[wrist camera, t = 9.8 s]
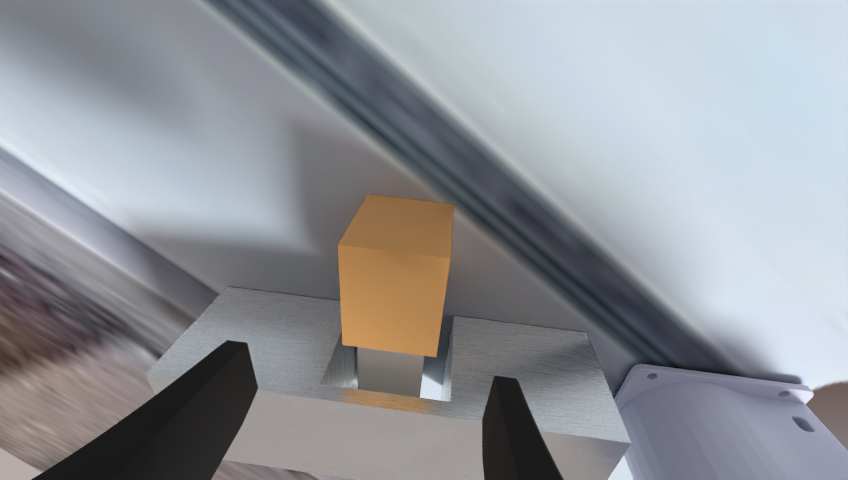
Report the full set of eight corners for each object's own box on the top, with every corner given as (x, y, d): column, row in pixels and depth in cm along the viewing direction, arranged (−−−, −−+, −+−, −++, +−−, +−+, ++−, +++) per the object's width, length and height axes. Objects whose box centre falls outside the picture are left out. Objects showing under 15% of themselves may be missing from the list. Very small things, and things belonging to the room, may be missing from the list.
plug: (453, 204, 16) (450, 258, 12) (427, 397, 23) (419, 470, 20) (367, 194, 16) (337, 244, 13) (367, 389, 24) (348, 459, 20)
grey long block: (586, 332, 19) (631, 443, 14) (556, 402, 22) (584, 513, 17) (227, 286, 20) (145, 374, 15) (245, 359, 23) (183, 453, 18)
